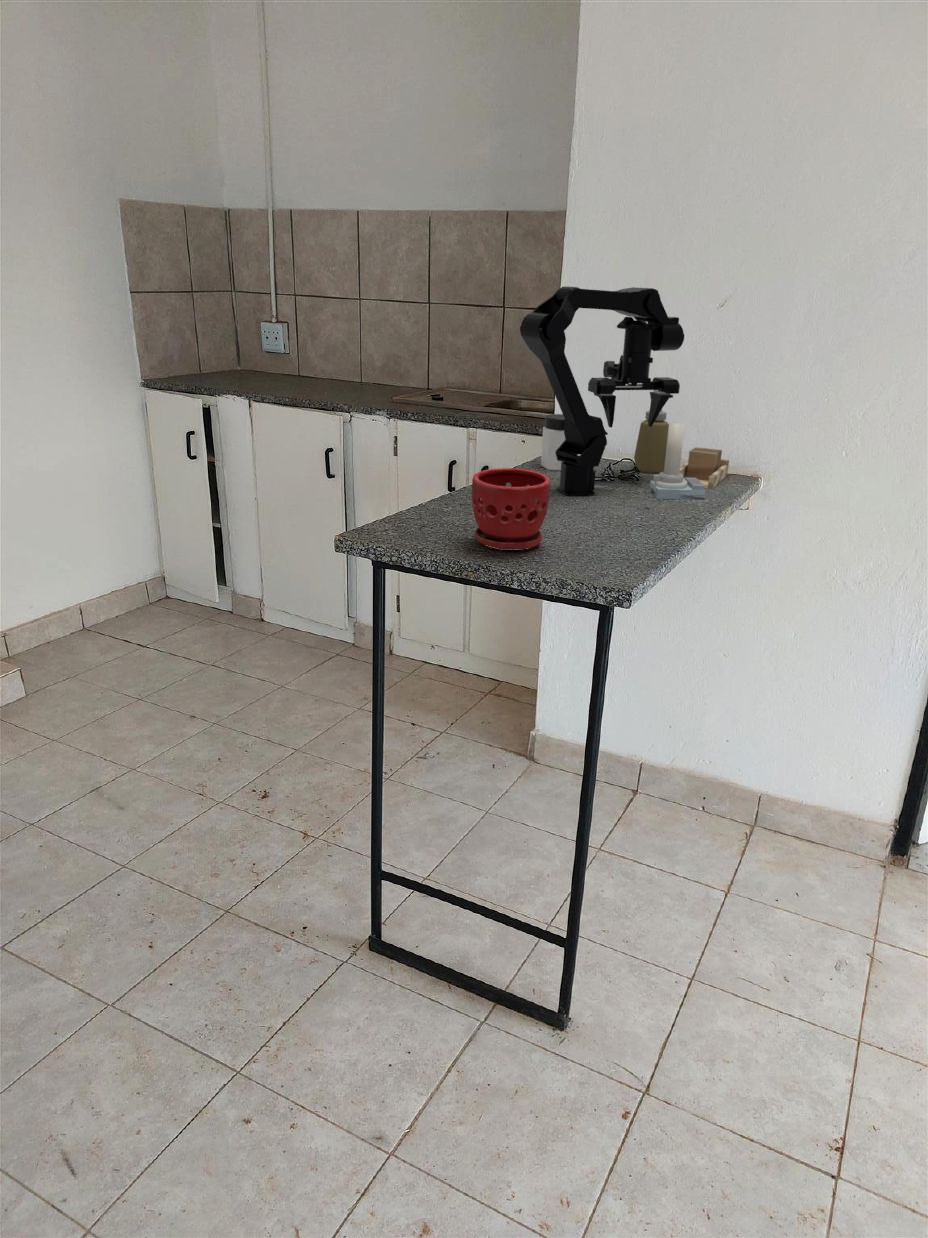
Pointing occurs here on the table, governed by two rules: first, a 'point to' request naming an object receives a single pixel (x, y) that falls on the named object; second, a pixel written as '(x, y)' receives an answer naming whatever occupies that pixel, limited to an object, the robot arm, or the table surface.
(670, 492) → the grey socket base
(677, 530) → the table surface
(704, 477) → the box
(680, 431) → the crank handle
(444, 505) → the table surface
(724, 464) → the bay
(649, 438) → the squeeze bottle
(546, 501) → the plant pot
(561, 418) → the jar
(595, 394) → the robot arm
